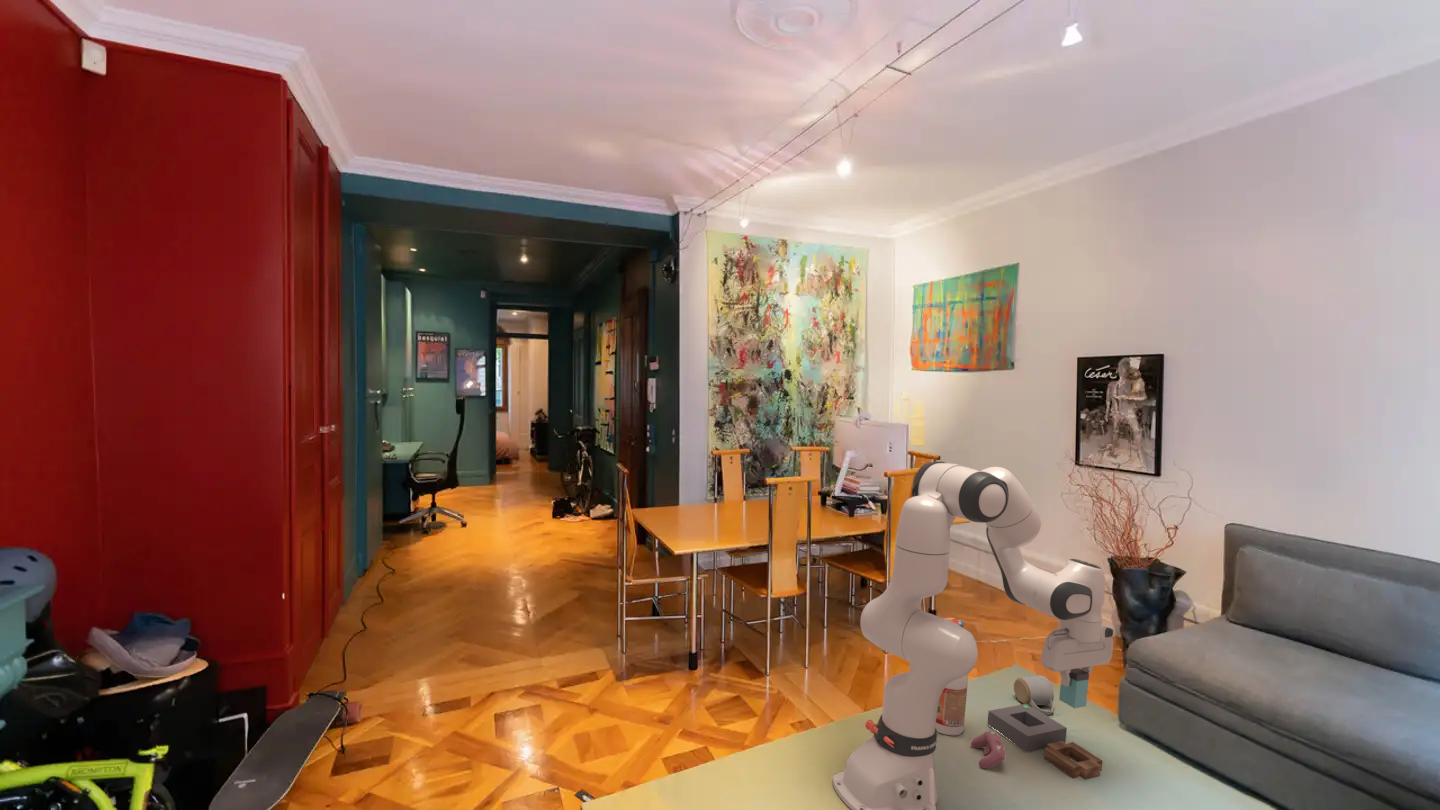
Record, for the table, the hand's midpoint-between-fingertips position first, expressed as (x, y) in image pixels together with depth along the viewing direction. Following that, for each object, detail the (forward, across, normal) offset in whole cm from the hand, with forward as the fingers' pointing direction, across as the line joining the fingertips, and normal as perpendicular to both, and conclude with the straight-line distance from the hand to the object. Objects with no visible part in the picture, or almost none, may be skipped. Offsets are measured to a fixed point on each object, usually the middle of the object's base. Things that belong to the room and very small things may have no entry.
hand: (1074, 683), depth 143 cm
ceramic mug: (+19, +16, +22) cm, 34 cm away
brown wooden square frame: (+19, 0, -1) cm, 19 cm away
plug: (+5, 0, 0) cm, 5 cm away
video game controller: (+19, -19, +6) cm, 28 cm away
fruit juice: (+19, -19, +20) cm, 34 cm away
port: (+19, 0, +12) cm, 22 cm away
